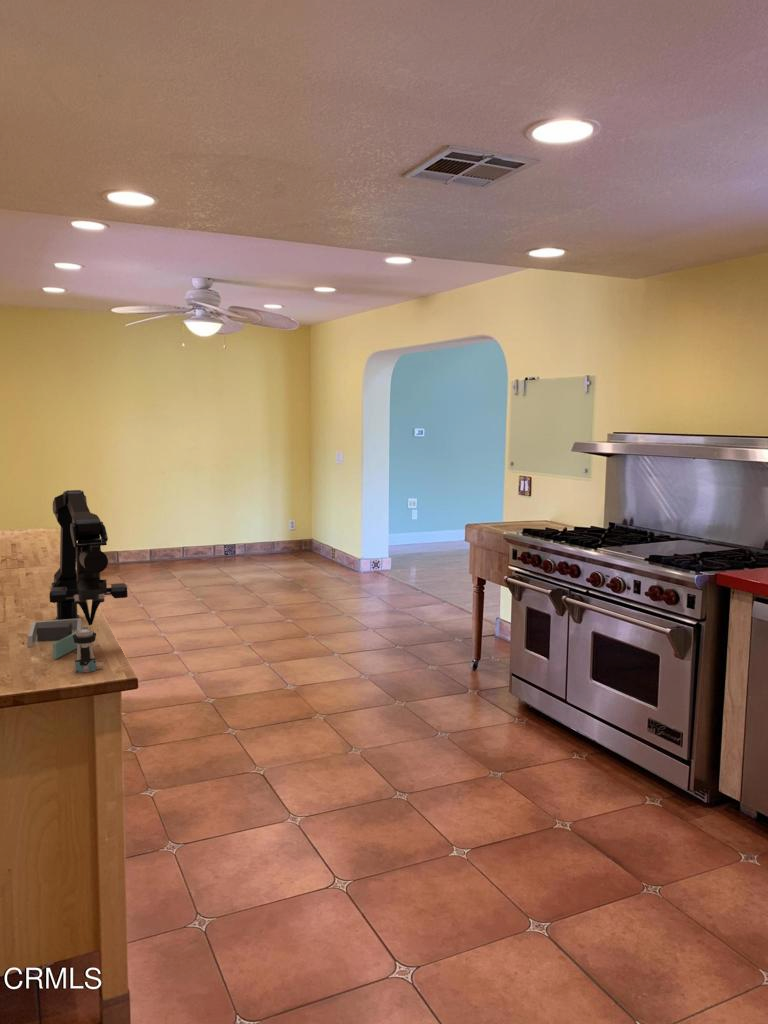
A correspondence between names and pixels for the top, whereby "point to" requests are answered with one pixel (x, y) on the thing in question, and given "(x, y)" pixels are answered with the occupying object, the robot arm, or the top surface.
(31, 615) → the top surface
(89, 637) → the push button
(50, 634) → the block
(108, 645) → the top surface
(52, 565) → the top surface
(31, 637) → the frame
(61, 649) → the bar
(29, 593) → the top surface
